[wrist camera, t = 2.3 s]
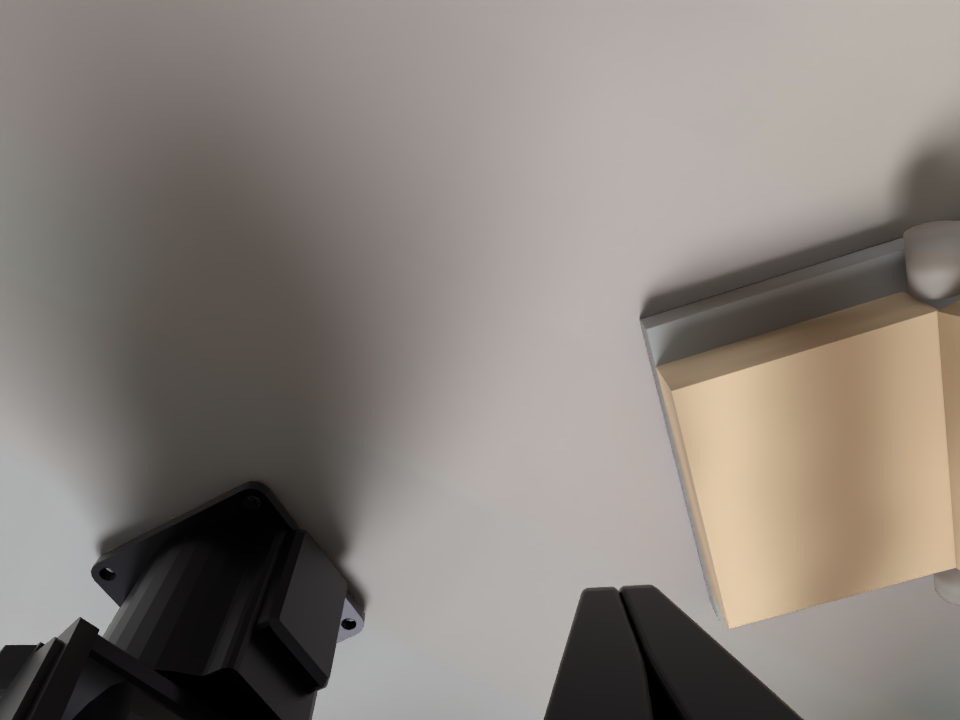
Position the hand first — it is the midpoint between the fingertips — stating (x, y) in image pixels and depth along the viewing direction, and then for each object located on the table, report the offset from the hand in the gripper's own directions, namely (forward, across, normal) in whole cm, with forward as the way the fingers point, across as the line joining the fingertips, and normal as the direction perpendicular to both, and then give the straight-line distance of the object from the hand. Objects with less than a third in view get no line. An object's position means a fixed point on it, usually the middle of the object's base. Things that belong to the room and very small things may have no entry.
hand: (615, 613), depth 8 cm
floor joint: (+13, +14, -5) cm, 20 cm away
